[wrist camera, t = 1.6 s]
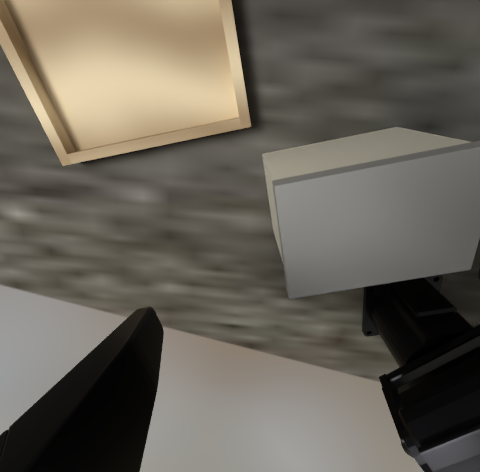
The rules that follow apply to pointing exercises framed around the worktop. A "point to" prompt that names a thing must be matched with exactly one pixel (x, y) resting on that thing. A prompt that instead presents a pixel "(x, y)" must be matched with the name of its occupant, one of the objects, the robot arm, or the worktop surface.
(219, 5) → the refill tray
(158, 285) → the worktop surface
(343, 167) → the box
